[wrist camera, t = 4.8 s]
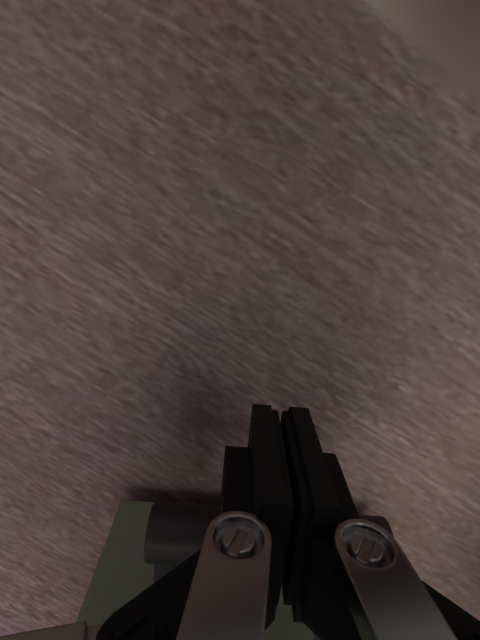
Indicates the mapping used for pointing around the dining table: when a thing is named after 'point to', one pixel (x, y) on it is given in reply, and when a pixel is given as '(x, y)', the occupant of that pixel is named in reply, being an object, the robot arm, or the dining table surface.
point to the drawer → (164, 559)
